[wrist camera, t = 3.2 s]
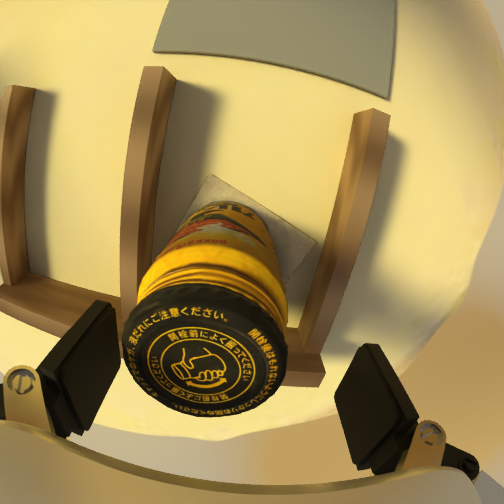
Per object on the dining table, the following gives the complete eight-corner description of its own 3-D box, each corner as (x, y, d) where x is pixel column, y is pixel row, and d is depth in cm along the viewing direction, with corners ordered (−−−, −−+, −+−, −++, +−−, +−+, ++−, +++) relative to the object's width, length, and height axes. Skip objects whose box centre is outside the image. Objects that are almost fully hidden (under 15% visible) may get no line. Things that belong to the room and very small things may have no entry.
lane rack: (27, 90, 13) (-12, 85, 9) (369, 119, 16) (408, 112, 11) (24, 283, 19) (-6, 308, 15) (306, 344, 22) (318, 387, 17)
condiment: (209, 173, 17) (141, 214, 6) (315, 241, 19) (396, 359, 7) (159, 262, 19) (79, 384, 8) (257, 317, 21) (267, 459, 10)
